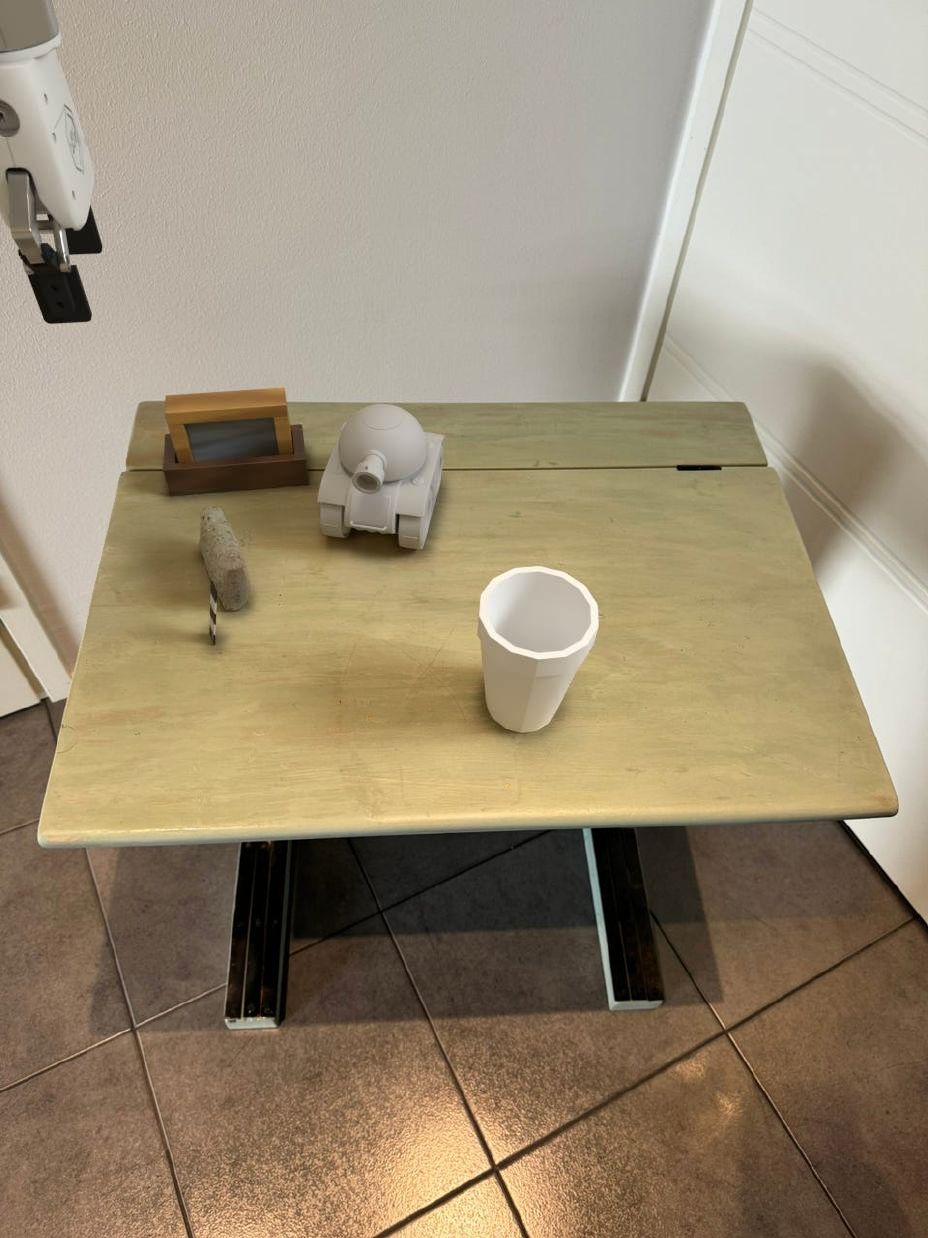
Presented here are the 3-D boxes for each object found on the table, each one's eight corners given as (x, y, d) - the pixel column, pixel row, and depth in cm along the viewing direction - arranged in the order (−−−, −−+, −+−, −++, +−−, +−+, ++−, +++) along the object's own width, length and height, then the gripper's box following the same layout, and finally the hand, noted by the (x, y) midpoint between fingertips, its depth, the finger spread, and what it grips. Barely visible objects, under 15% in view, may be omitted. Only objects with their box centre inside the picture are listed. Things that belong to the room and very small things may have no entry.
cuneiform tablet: (213, 645, 77) (178, 558, 84) (260, 635, 79) (222, 551, 86) (215, 591, 72) (177, 503, 79) (265, 582, 74) (224, 497, 81)
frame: (295, 472, 92) (286, 404, 85) (183, 481, 90) (164, 413, 83) (293, 454, 94) (284, 386, 87) (183, 463, 92) (165, 394, 85)
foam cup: (560, 656, 79) (583, 562, 68) (584, 741, 73) (613, 651, 63) (461, 666, 77) (469, 571, 67) (478, 753, 72) (489, 664, 61)
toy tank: (420, 570, 84) (422, 472, 74) (318, 554, 85) (306, 455, 75) (444, 473, 94) (449, 375, 84) (353, 460, 94) (346, 361, 84)
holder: (170, 496, 89) (162, 470, 87) (171, 459, 93) (164, 433, 90) (308, 484, 92) (305, 458, 89) (305, 449, 95) (302, 423, 93)
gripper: (36, 66, 45) (121, 347, 58) (69, -29, 55) (134, 227, 69) (-117, 67, 44) (5, 354, 57) (-53, -30, 54) (37, 231, 67)
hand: (76, 284), depth 63 cm, fingers open, 9 cm apart
